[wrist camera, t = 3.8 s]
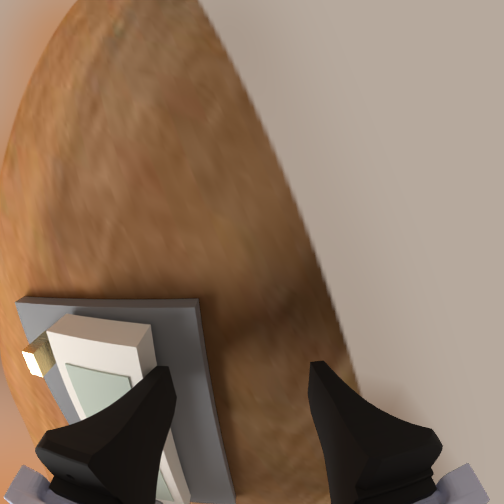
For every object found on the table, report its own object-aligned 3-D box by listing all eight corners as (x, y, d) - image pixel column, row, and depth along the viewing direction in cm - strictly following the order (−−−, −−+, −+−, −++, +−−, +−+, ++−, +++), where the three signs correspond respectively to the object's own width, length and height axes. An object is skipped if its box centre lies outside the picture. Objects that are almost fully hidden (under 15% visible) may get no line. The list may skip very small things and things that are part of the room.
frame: (190, 495, 17) (187, 514, 14) (136, 485, 17) (131, 503, 14) (150, 324, 12) (134, 349, 10) (66, 313, 12) (43, 332, 10)
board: (235, 496, 18) (235, 525, 15) (118, 481, 18) (110, 505, 15) (198, 298, 13) (183, 335, 10) (23, 296, 13) (-10, 318, 10)
